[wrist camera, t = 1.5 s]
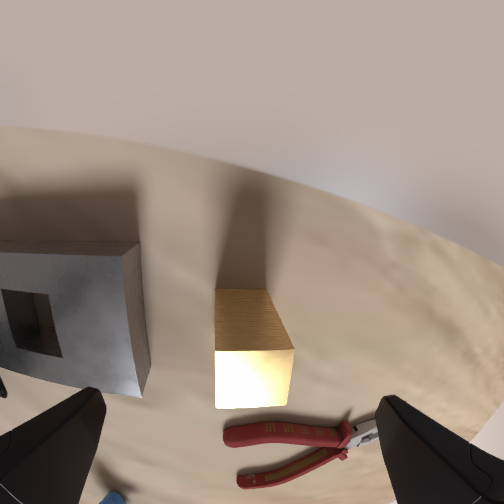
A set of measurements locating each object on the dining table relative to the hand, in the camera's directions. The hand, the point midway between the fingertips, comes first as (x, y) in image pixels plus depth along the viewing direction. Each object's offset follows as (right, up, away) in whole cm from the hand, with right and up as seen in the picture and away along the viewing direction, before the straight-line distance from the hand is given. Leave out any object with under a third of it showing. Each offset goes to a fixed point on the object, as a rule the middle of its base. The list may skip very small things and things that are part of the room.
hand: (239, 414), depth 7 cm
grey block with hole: (-15, +1, +11) cm, 19 cm away
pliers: (+7, -17, +19) cm, 26 cm away
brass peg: (0, 0, +13) cm, 13 cm away
